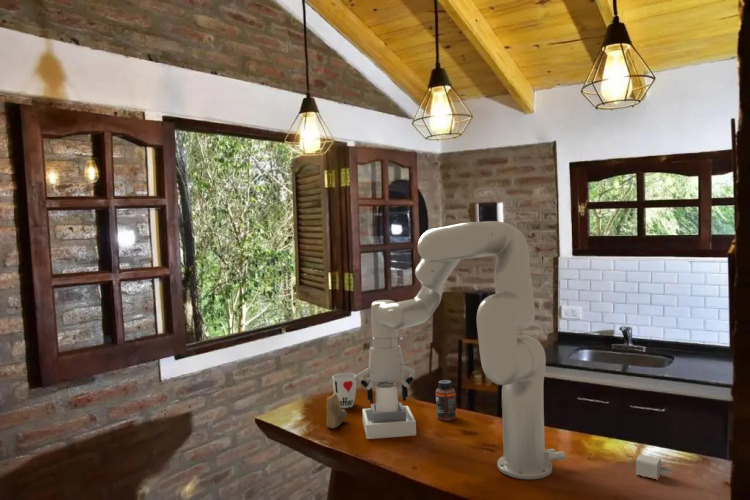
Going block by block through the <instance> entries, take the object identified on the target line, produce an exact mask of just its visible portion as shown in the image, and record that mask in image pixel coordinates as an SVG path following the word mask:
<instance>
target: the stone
mask: <svg viewBox="0 0 750 500" xmlns="http://www.w3.org/2000/svg"><path fill="white" fill-rule="evenodd" d="M326 402H327V403H326V426H327V427H328V428H330V429H336V428H338V427H340V425H341V424H342V423H343V422H344V421H345V420H346V418H347V415H348V414H347V411H346V409H345V408H341V407H340V405H339V400H338V396H337V394H334V393H333V394H331V396H329V397H327V400H326Z"/></svg>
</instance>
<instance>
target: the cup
mask: <svg viewBox="0 0 750 500" xmlns="http://www.w3.org/2000/svg"><path fill="white" fill-rule="evenodd" d="M331 379H332V389H333V394H337V396H338V400H339V405H340V407H341V409H349V407H350V408H352V407H354V403H355V400H356V393H357V374H356V373H351V372H341V373H335V374H334V375H332V378H331Z"/></svg>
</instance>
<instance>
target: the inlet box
mask: <svg viewBox="0 0 750 500" xmlns="http://www.w3.org/2000/svg"><path fill="white" fill-rule="evenodd" d="M362 424H363V429H364V432H365V433H364V434H365V436H366V437H365V438H366V439H367V440H370V439H371V440H375V439H385V438H386V439H387V438H398V437H399V438H400V437H410V436H412V437H413V436H417V421H416V419H415V417H414V415H413V413H412V411H411V409H410V407H409V405H403V404H402V402H401V401H400V402H399V401H398V412H387V413H376V403H370V408H362Z"/></svg>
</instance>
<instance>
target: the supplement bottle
mask: <svg viewBox="0 0 750 500" xmlns="http://www.w3.org/2000/svg"><path fill="white" fill-rule="evenodd" d="M452 384H453V383H452V381H451V380H450V379H443V380H439V381H438V387H437V388H436V389H435V401H436V402H435V403H436V404H435V405H436V418H437V419H438V420H440V421H443V422H444V421H445V422H450V421H453V420H455V419H456V418H457V404H456V403H457V400H456V390H455V388H454V387H453V385H452Z"/></svg>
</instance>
